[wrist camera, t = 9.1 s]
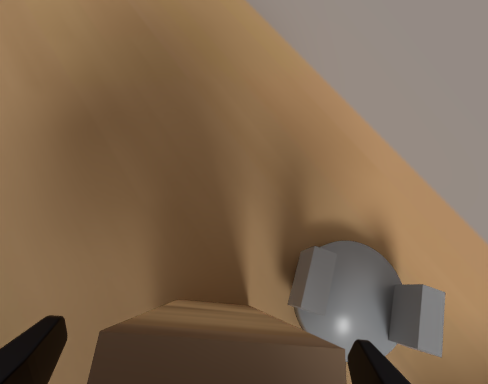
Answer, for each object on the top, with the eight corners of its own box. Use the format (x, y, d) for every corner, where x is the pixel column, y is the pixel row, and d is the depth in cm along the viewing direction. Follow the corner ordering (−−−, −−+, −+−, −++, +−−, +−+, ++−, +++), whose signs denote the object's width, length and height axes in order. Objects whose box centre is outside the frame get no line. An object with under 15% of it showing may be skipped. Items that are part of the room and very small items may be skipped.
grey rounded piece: (393, 377, 15) (439, 399, 12) (274, 335, 15) (291, 347, 12) (405, 264, 17) (446, 259, 14) (302, 227, 17) (322, 215, 14)
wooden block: (242, 389, 14) (359, 732, 3) (164, 384, 14) (-1, 751, 3) (248, 305, 15) (345, 349, 5) (177, 299, 15) (99, 330, 4)
